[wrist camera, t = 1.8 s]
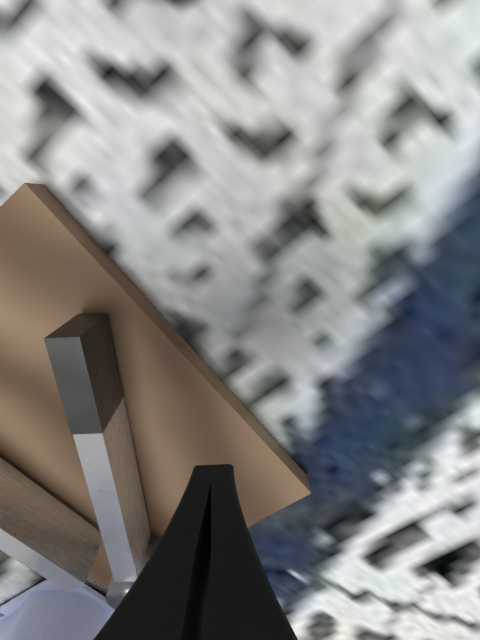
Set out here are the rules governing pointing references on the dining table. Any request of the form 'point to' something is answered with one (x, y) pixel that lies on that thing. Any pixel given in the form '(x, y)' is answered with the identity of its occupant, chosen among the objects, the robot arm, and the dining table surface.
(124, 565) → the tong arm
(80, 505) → the walnut board
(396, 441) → the dining table surface
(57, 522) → the fixed tong arm
